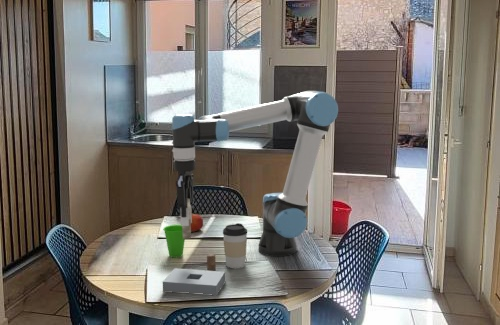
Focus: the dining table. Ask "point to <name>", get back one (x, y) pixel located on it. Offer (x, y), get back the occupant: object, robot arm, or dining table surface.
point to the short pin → (211, 262)
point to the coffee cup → (235, 245)
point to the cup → (174, 240)
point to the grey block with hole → (194, 281)
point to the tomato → (196, 222)
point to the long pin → (187, 229)
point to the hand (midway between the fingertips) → (186, 224)
